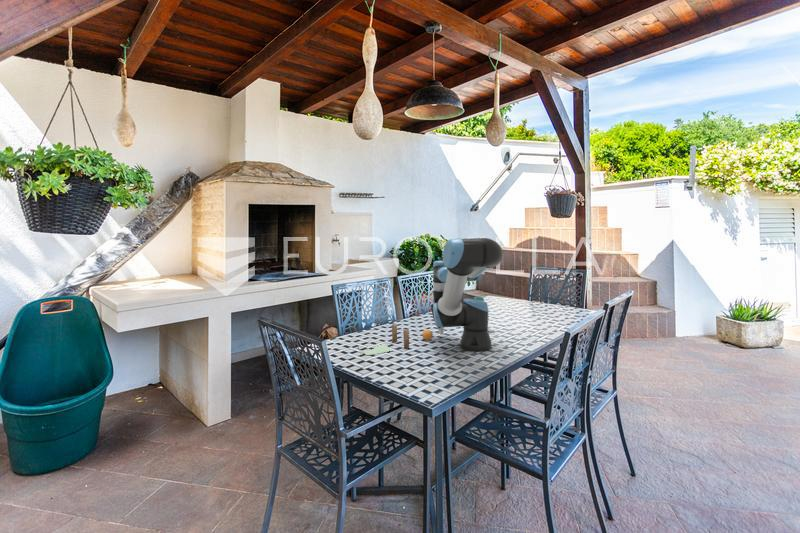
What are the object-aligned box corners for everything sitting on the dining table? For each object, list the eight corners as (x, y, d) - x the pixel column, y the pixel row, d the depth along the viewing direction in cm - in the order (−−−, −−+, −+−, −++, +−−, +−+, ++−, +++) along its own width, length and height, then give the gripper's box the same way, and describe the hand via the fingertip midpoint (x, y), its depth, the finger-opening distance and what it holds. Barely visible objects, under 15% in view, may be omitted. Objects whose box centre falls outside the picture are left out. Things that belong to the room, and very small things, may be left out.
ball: (434, 340, 198) (434, 330, 197) (425, 342, 195) (425, 331, 195) (429, 338, 203) (429, 327, 202) (420, 339, 200) (420, 329, 200)
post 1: (398, 341, 197) (397, 324, 196) (393, 342, 196) (393, 325, 195) (395, 340, 199) (395, 323, 198) (391, 341, 198) (391, 324, 197)
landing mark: (394, 350, 182) (394, 350, 182) (367, 355, 176) (367, 355, 176) (381, 343, 195) (381, 343, 195) (356, 347, 188) (356, 347, 188)
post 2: (410, 348, 186) (409, 330, 185) (405, 349, 184) (405, 330, 184) (407, 346, 188) (407, 329, 187) (402, 347, 187) (402, 329, 186)
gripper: (447, 288, 207) (447, 330, 209) (426, 290, 201) (426, 333, 204) (454, 290, 200) (455, 333, 203) (433, 292, 195) (433, 337, 197)
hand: (440, 333), depth 203 cm, fingers closed
